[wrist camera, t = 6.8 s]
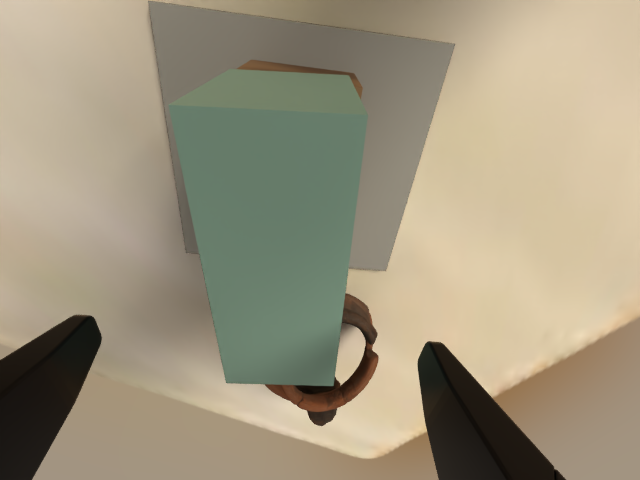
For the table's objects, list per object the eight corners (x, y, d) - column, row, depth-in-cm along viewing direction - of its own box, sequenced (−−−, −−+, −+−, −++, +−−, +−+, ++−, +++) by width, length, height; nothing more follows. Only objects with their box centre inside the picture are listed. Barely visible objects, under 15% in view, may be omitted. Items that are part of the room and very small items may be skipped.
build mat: (452, 43, 15) (455, 44, 15) (384, 267, 23) (385, 271, 23) (152, 1, 14) (148, 1, 14) (188, 249, 22) (186, 252, 22)
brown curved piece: (224, 288, 25) (242, 340, 18) (330, 247, 28) (383, 277, 21) (267, 402, 29) (297, 484, 22) (357, 356, 32) (409, 415, 25)
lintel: (229, 68, 12) (168, 104, 7) (348, 75, 12) (367, 114, 7) (251, 284, 18) (226, 383, 13) (329, 287, 19) (333, 385, 14)
